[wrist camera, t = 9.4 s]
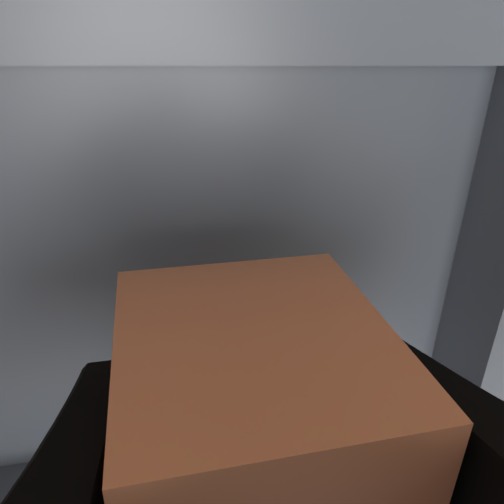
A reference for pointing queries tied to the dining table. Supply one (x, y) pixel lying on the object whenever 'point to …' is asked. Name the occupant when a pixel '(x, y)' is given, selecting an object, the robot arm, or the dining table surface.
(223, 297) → the block
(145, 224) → the tray
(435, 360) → the robot arm
